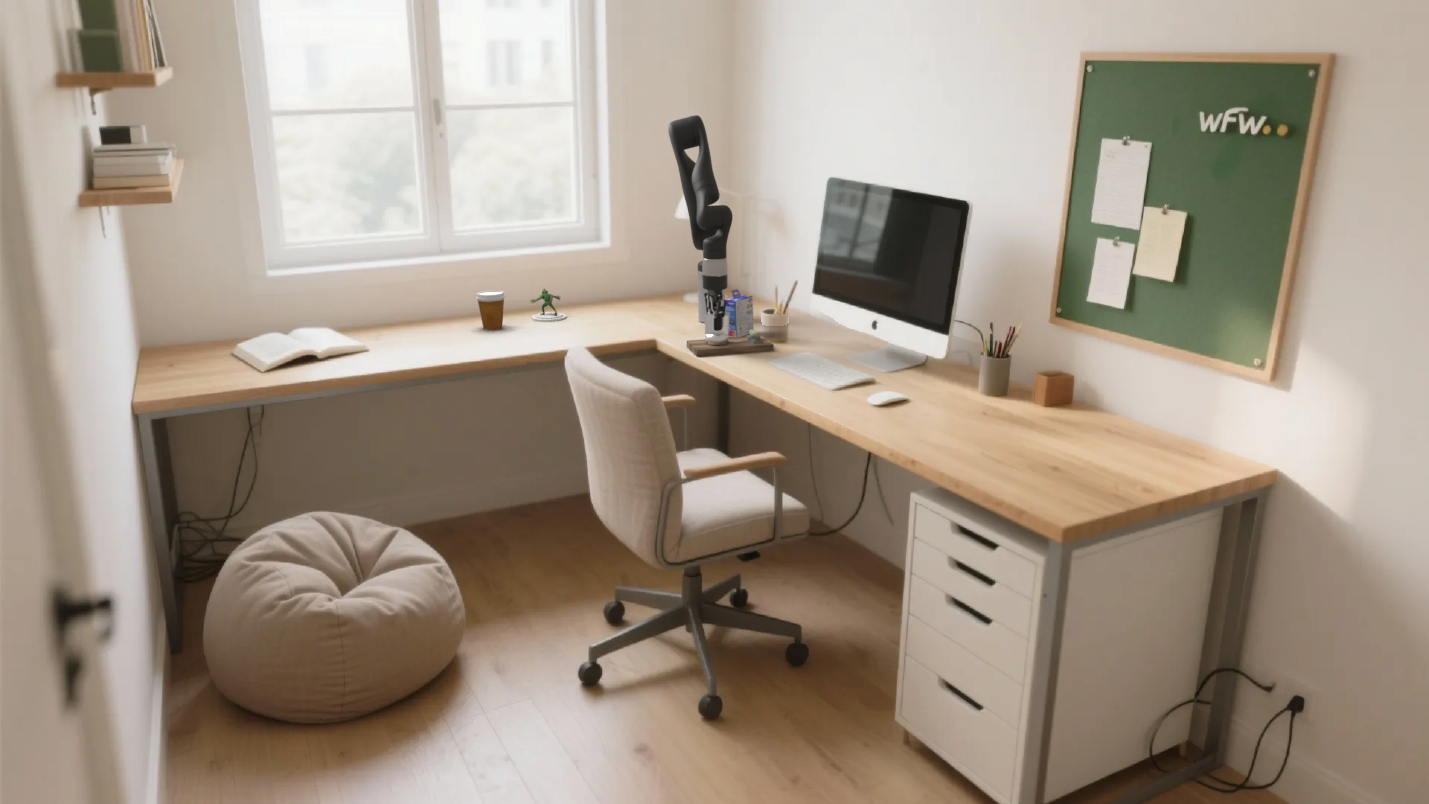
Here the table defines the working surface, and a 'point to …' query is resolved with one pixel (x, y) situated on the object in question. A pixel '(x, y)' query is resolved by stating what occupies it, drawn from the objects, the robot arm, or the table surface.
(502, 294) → the disposable coffee cup
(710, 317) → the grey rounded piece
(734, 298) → the ink cartridge box
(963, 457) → the table surface
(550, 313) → the monster figurine
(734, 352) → the board
